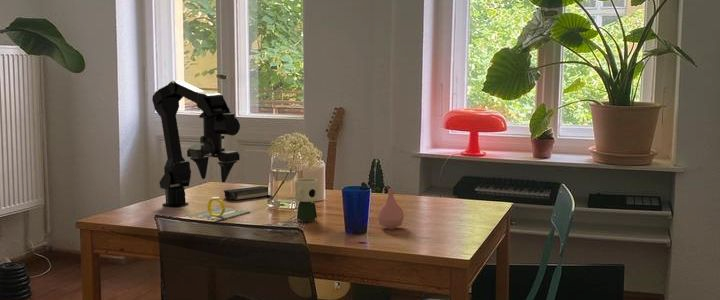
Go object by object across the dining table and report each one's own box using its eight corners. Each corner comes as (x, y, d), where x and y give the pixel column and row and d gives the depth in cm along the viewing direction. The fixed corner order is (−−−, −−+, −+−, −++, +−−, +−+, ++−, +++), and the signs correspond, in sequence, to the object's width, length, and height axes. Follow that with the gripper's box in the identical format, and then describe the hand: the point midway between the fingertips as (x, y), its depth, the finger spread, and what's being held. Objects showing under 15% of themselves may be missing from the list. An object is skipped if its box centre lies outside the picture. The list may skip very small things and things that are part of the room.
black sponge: (233, 202, 267) (232, 192, 266) (222, 198, 273) (222, 188, 273) (274, 197, 276) (273, 187, 276) (262, 193, 283) (262, 183, 282)
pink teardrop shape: (385, 224, 231) (385, 185, 230) (408, 227, 227) (408, 187, 226) (373, 229, 225) (373, 189, 223) (396, 232, 221) (396, 192, 219)
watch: (227, 215, 242) (226, 197, 241) (221, 217, 239) (221, 199, 238) (211, 214, 244) (210, 196, 244) (206, 216, 242) (205, 197, 241)
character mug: (308, 225, 230) (308, 183, 228) (288, 223, 233) (287, 182, 231) (325, 218, 240) (324, 177, 238) (305, 216, 243) (304, 176, 241)
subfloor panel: (171, 220, 238) (171, 218, 238) (221, 208, 256) (221, 206, 256) (200, 225, 231) (200, 223, 231) (250, 212, 249) (250, 210, 248)
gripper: (173, 132, 242) (174, 180, 245) (214, 137, 232) (215, 188, 234) (199, 129, 251) (200, 175, 254) (240, 134, 241) (241, 182, 243)
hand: (213, 180), depth 246 cm, fingers open, 9 cm apart
